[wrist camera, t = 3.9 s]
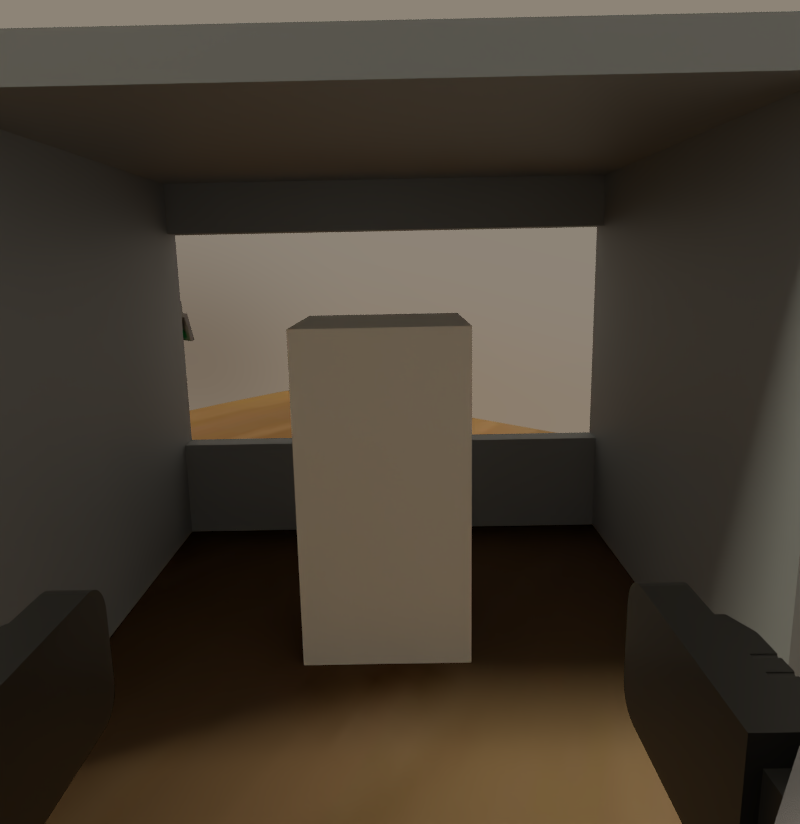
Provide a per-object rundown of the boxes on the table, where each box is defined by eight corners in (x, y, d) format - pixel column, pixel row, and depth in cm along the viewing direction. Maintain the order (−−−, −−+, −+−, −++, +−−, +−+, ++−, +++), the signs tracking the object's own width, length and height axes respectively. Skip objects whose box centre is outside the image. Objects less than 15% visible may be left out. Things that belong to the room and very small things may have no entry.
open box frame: (-52, 789, 16) (-182, 32, 13) (177, 523, 33) (144, 161, 30) (820, 775, 16) (910, 8, 13) (608, 516, 33) (623, 152, 30)
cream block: (303, 665, 21) (286, 329, 19) (322, 590, 26) (309, 315, 24) (471, 662, 21) (472, 325, 19) (458, 587, 26) (457, 313, 24)
